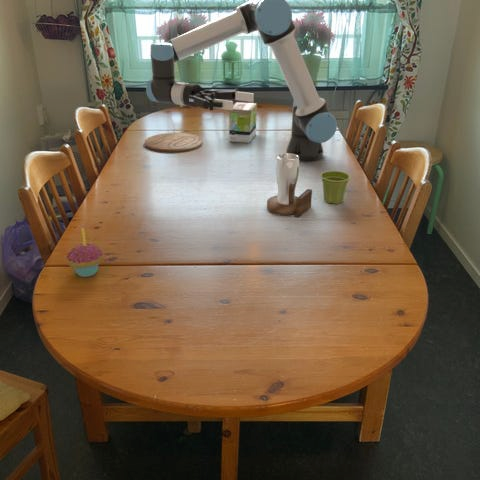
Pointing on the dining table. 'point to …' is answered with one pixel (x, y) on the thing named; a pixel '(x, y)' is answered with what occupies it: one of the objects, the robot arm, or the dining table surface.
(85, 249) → the cupcake
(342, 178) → the plant pot
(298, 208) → the walnut base
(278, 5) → the robot arm
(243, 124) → the tea box
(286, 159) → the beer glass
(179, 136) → the trivet
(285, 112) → the dining table surface
